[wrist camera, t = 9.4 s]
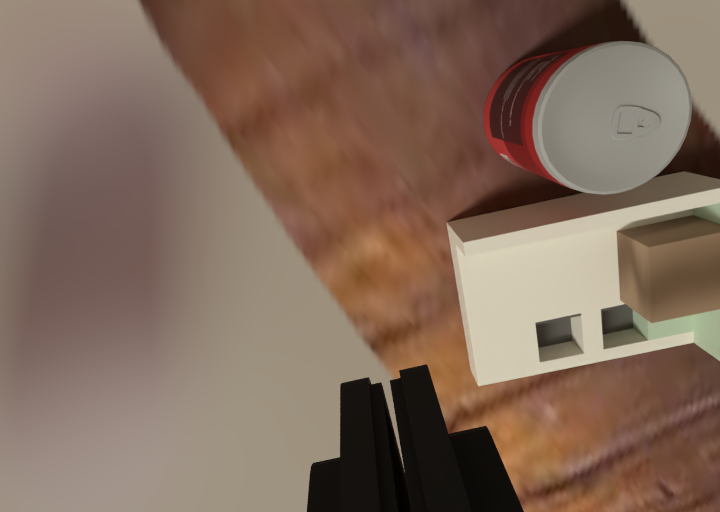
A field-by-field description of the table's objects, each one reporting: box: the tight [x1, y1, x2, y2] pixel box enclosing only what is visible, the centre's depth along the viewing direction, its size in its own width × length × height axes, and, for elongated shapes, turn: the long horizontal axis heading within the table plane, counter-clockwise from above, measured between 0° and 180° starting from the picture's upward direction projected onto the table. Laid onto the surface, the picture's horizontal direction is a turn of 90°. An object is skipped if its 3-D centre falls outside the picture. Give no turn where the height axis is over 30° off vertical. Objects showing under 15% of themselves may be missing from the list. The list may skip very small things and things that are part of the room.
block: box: [616, 215, 720, 323], centre depth 35 cm, size 6×6×4 cm
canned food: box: [484, 41, 692, 195], centre depth 31 cm, size 8×8×11 cm
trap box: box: [447, 171, 720, 386], centre depth 37 cm, size 13×18×6 cm
